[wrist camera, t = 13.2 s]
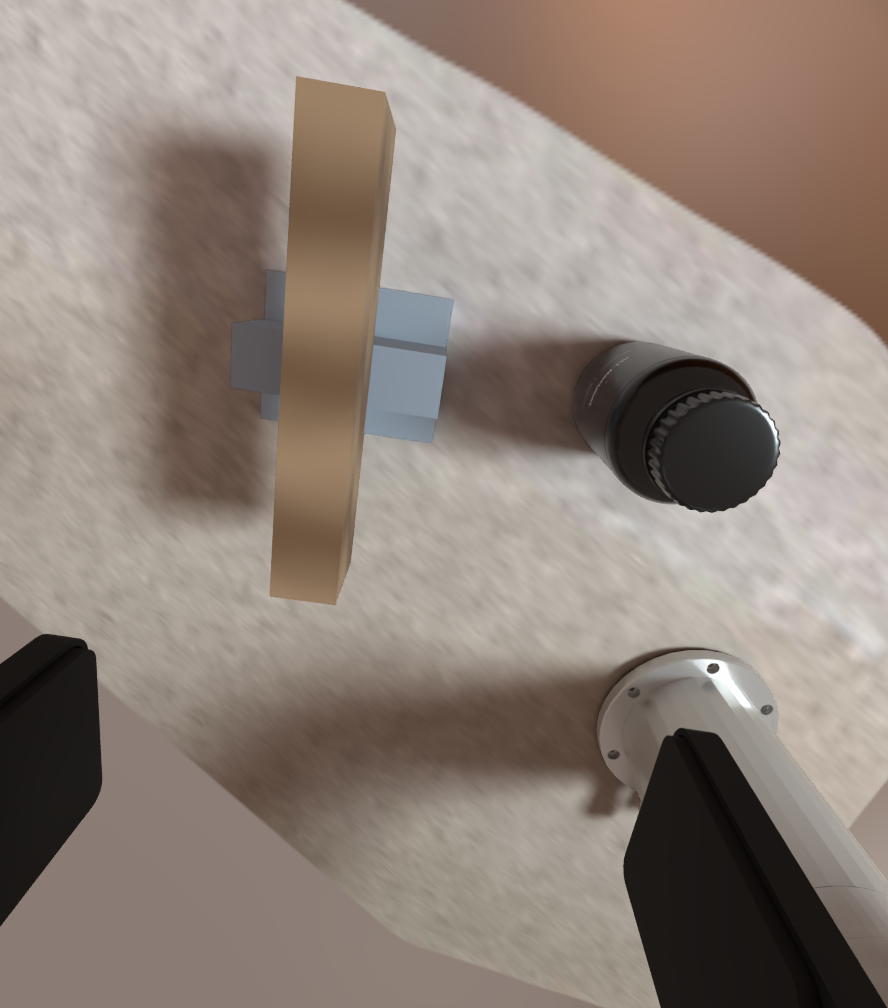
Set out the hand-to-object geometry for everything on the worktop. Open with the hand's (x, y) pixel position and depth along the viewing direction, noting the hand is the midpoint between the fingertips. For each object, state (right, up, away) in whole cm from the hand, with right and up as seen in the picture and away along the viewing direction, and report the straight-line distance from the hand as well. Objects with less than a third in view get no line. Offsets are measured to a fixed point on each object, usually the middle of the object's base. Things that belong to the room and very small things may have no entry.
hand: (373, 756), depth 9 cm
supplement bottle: (+12, +10, +24) cm, 29 cm away
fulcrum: (-4, +12, +23) cm, 26 cm away
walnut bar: (-4, +11, +17) cm, 21 cm away
